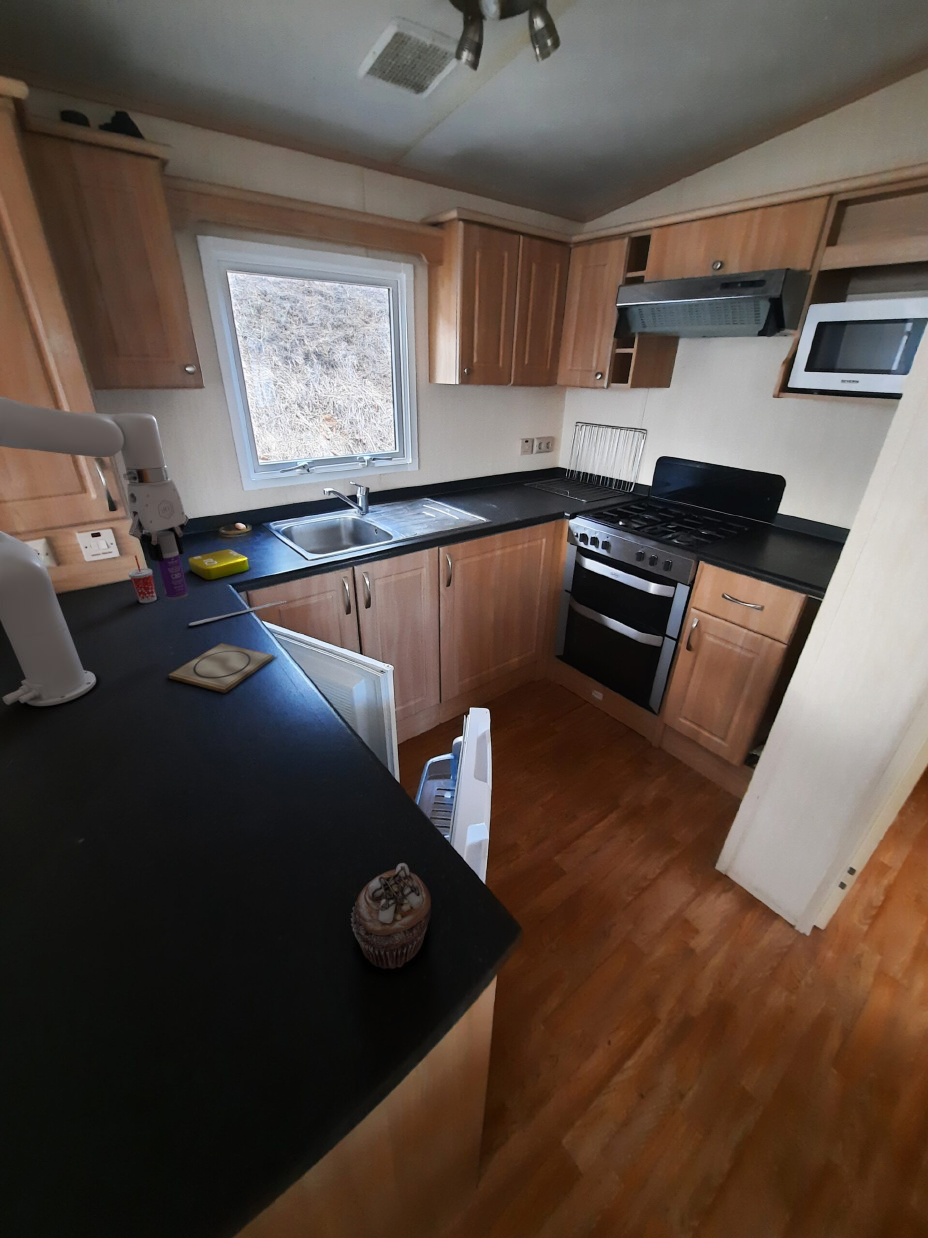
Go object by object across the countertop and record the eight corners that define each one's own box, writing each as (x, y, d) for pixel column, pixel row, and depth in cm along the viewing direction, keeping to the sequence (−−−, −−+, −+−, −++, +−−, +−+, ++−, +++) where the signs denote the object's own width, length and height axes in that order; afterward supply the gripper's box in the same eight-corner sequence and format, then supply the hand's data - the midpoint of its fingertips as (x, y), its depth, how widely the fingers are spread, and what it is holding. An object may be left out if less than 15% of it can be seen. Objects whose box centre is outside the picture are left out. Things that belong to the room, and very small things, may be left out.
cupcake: (402, 886, 70) (399, 835, 65) (446, 941, 63) (446, 888, 59) (339, 931, 64) (332, 878, 60) (381, 996, 58) (376, 942, 53)
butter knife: (187, 621, 139) (189, 625, 137) (284, 599, 154) (287, 602, 152) (187, 623, 139) (190, 627, 137) (284, 601, 154) (288, 604, 152)
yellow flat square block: (251, 569, 177) (249, 556, 175) (208, 581, 167) (205, 567, 165) (231, 559, 186) (228, 547, 184) (189, 570, 176) (185, 556, 173)
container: (178, 600, 117) (163, 537, 111) (161, 598, 118) (145, 535, 112) (192, 592, 122) (178, 531, 115) (175, 590, 122) (160, 530, 116)
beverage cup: (164, 598, 154) (152, 554, 148) (144, 605, 149) (131, 560, 143) (151, 594, 157) (139, 551, 150) (131, 601, 152) (118, 557, 145)
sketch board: (225, 693, 110) (224, 688, 110) (169, 678, 115) (168, 673, 114) (273, 658, 124) (273, 654, 123) (222, 646, 128) (221, 642, 128)
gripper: (124, 483, 99) (147, 571, 107) (193, 470, 114) (209, 548, 122) (97, 480, 102) (121, 566, 110) (168, 468, 116) (185, 544, 124)
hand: (167, 556), depth 116 cm, fingers closed on container, 4 cm apart
